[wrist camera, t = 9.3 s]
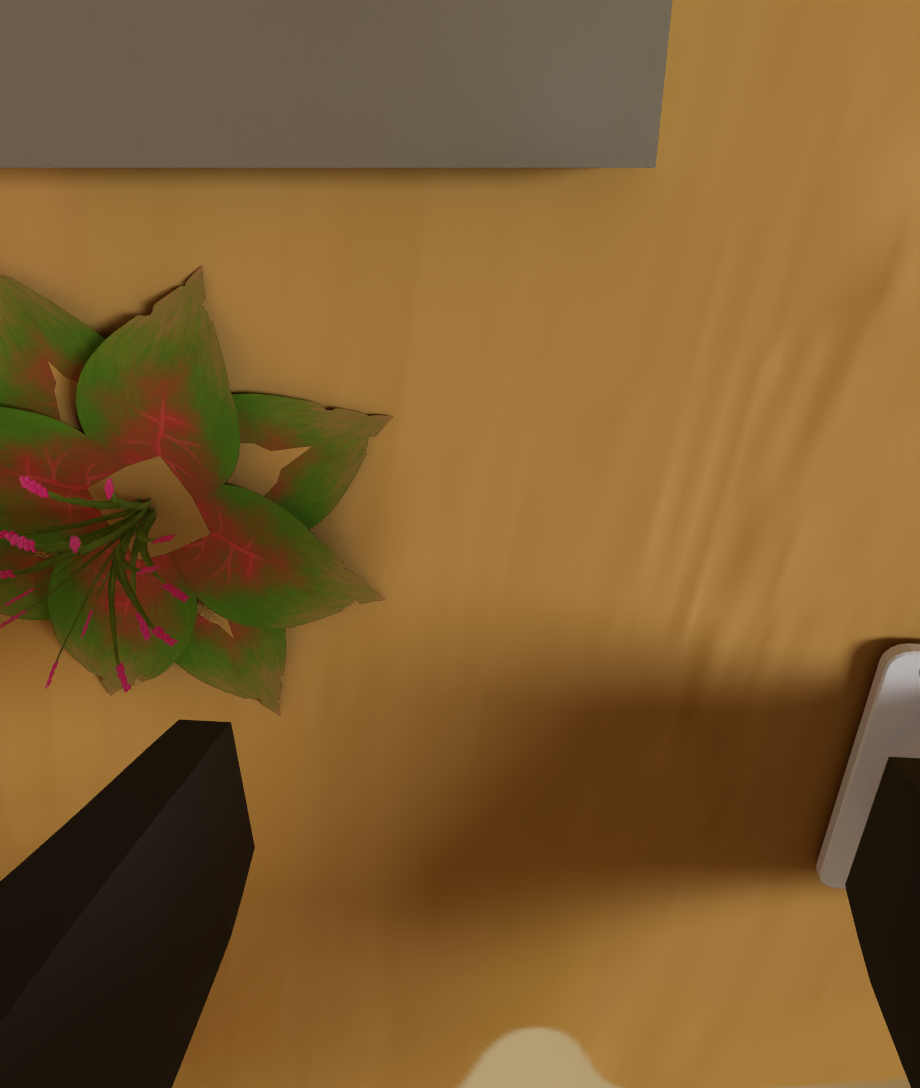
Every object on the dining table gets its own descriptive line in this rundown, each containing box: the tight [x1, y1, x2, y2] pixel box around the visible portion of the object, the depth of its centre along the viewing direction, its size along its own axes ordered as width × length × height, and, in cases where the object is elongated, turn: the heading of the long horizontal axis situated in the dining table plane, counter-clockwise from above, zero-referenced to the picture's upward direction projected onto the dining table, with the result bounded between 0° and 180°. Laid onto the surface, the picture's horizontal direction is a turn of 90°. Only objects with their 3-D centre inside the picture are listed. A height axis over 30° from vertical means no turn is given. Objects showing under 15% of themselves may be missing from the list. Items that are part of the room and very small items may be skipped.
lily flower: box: [0, 266, 393, 716], centre depth 17 cm, size 12×12×5 cm
